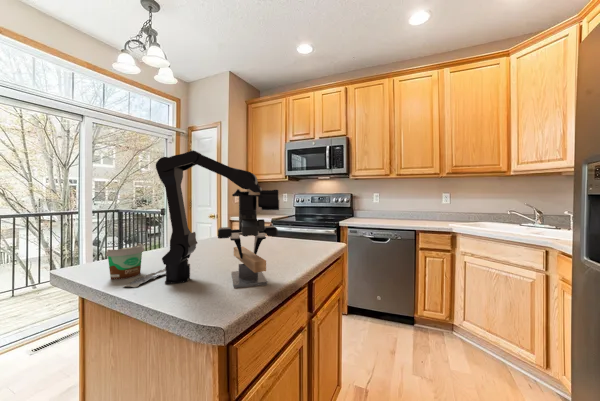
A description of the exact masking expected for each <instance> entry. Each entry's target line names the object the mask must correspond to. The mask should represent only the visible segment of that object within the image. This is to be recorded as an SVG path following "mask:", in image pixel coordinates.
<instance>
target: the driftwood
mask: <svg viewBox="0 0 600 401" xmlns="http://www.w3.org/2000/svg"><path fill="white" fill-rule="evenodd" d="M164 272H166V266H165V267H164V269H160V270H158V271H155V272H151V273H148V274H147V275H143V276H142V277H140V278H137V279H134V280H132V281H130V282H128V284H126V285H125V286H124V288H127V287H132V288H138V287H139V286H140V285H141V284H143V283H146V282H147V281H149V280H153V281H155V279H156V278H157V277H159V276H164V275H165V276H166V273H164ZM161 273H162V274H161Z"/></svg>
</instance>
